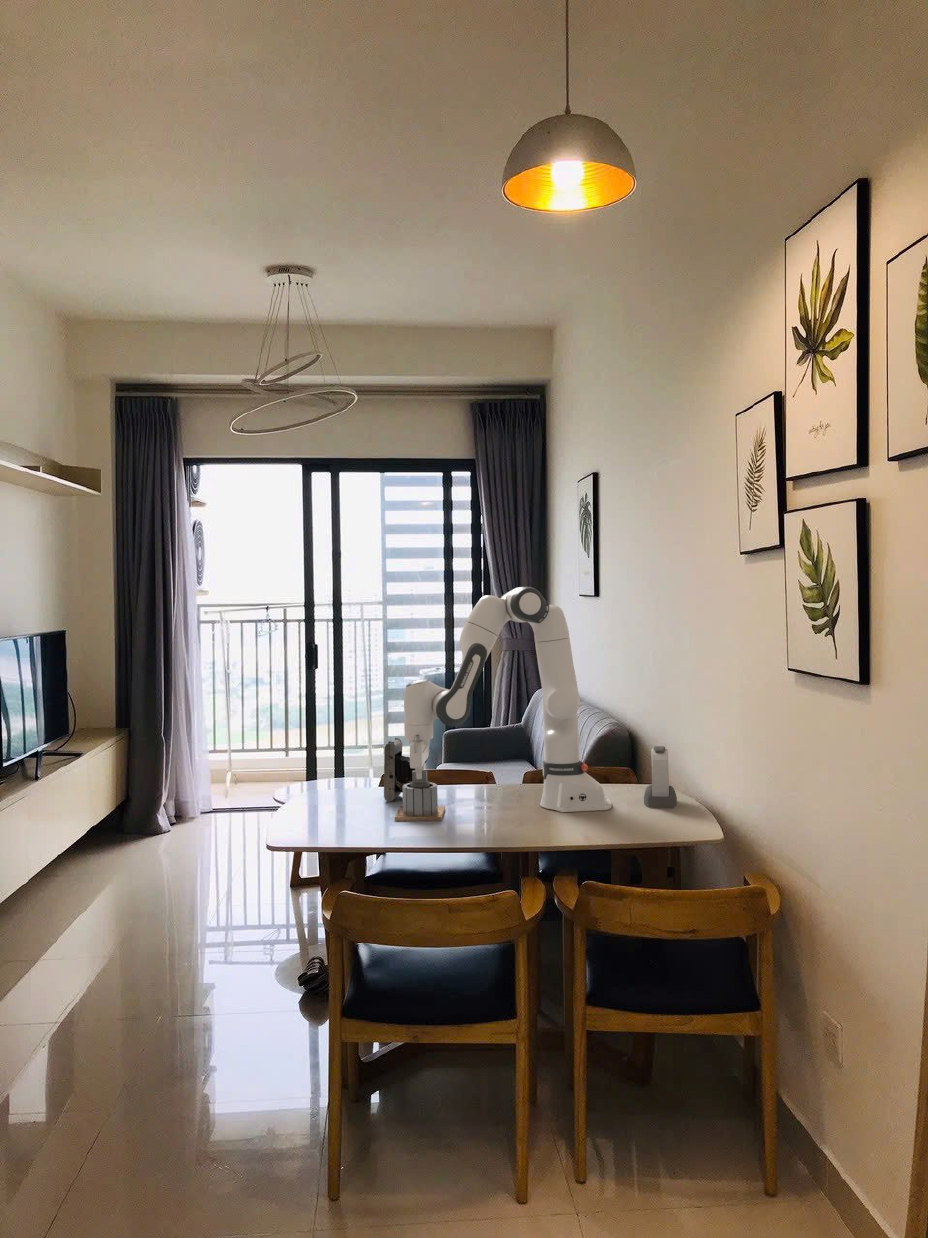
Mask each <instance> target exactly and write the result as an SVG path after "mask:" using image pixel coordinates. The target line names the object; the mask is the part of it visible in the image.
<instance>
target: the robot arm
mask: <svg viewBox="0 0 928 1238" xmlns="http://www.w3.org/2000/svg"><path fill="white" fill-rule="evenodd" d="M507 622H511V623H521V624H522V623H528V624H529V625H530V627H531V628H532V632H533V637H534V644H535V652H536V658H537V665H538V666H537V667H538V672H539V678H540V686H541V690H542V691H541V692H542V722H543V723H542V724H543V725H542V726H543V751H544V752H543V753H544V755H543V756H544V757H543V758H544V759H543V761H542V776H543V786H542V787H543V789H542V794H541V800H540V803H539V806H540V807H542V808H544V809H548V810H554V811H557V812H561V813H569V812H571V813H572V812H591V811H607V810H611V808H612V804H613V803H612V801H611V800H610V799H609V798H607V797H605V792H604V788H603V786H602V784H601V783H600V782H598V781H597V780H596V779H595V778H594V777H592V776H591V775H589V774H588V773H587V771H588V770H589V767H588V765H587V763H585V762H584V761H582V760H580V736H579V735H580V733H579V721H578V720H579V719H578V712H579V709H580V704H581V701H580V695H579V694H580V693H579V688H578V683H577V682H578V681H577V677H576V672H575V666H574V660H573V653H572V645H571V638H570V632H569V631H570V630H569V627H568V623H567V619H566V617H565V613H564V611H563V609H562V608H561V607H560V606H558V605H555V604H549V603H548V602H547V600H546V599H545V598H544V596H543V595H542V593H541V592H540V591H539V590H537V588H534V587H532V586H519V587H518V586H517V587H515V588H513V589H511V590H508V591H507V592H505V593H504V594H502V595H501V596H499V597H498V596H496V595H491V594H488V595H486V594H485V595H483V596H481V598H479V600H478V601H477V602H476V604H475V605H474V606H473V608H472V609H471V611H470V613H469V615H468V617H467V619H466V621H465V623H464V625H463V628H462V630H461V633H460V638H459V646H460V647H459V648H460V650H461V657H462V658H461V663H460V666H459V668H458V669H459V670H457V671H458V672H457V674H456V676H455V679H454V681H453V684H452V686H451V688H450V689H448V688H445V687H441V686H439V685H437V684H435V683H433V682H432V681H430V680H429V679H417V680H413V681H411V682H409V683H408V684H406V686H405V688H404V694H403V711H404V714H405V715H404V716H405V718H404V723H403V724H404V725H403V727H404V728H403V729H404V731H403V732H404V739H405V740H406V741H408V745H409V757H410V768H415V771H416V779H422V770H425V769H424V768H425V764H426V763H425V761H426V760H427V761H428V759H429V753H430V746H431V745H430V744H431V740H432V739H434V721H435V720H439V721H440V722H441V723H442V724H444V725H445V726H448V727H459V726H460V725H463V724H464V723H465V722H466V721H467V720H468V718H469V716H470V714H471V704H472V703H471V701H472V697H473V696H472V695H473V692H474V689H475V688H476V686H477V683H478V680H479V677H480V675H481V673H482V670H483V668H484V665H485V663H486V661H487V659H488V657H489V655H490V653H491V651H492V650H493V647H494V646H495V644H496V641H497V640H498V638H499V635H500V634H501V631H502V628H503V627H504V626H505V624H507ZM427 758H428V759H427Z"/></svg>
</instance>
